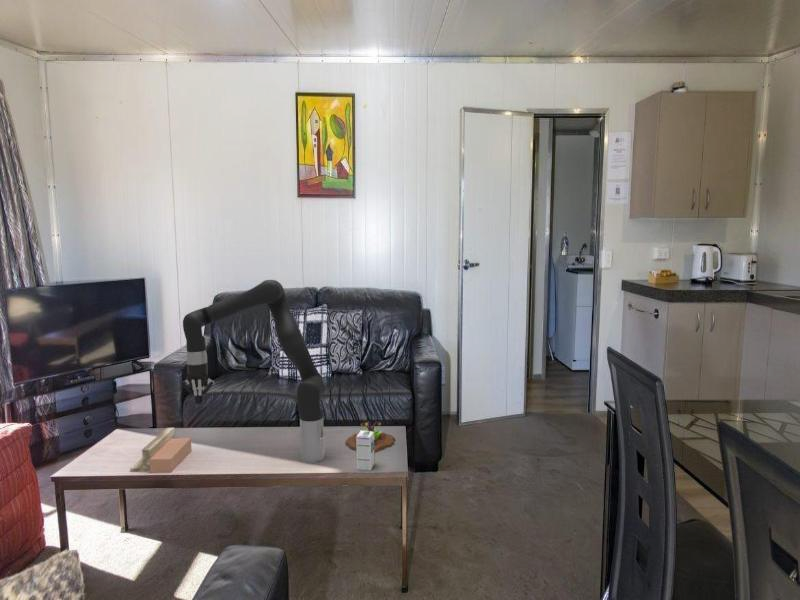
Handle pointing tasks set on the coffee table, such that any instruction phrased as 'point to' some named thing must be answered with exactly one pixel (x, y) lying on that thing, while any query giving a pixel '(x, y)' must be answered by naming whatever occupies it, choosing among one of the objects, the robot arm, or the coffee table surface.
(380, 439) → the plant
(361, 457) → the syrup box
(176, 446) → the terracotta block
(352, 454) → the coffee table surface
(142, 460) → the beige ridged rail
